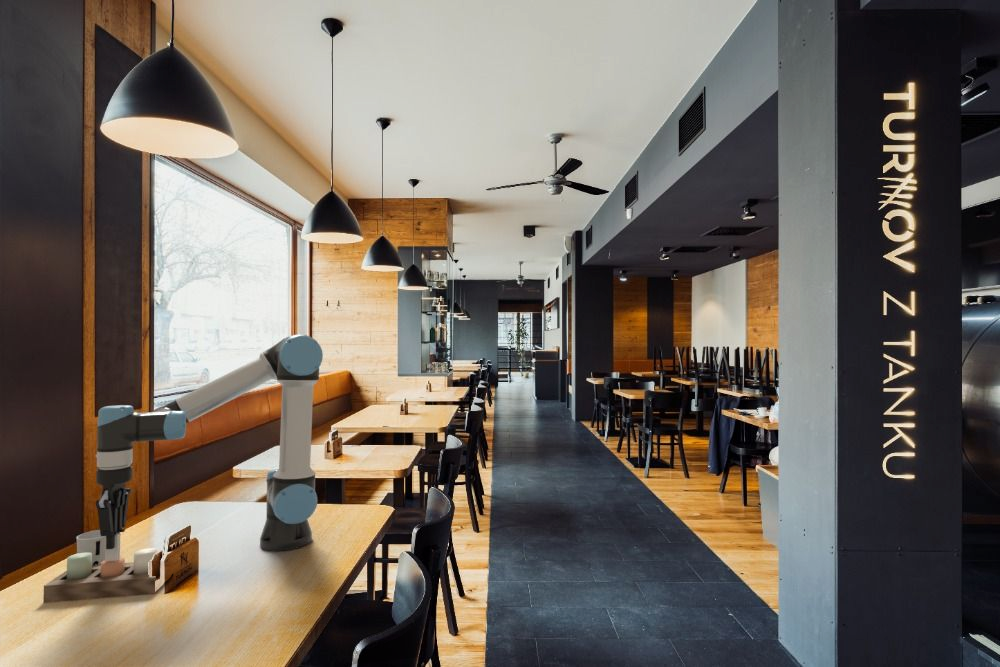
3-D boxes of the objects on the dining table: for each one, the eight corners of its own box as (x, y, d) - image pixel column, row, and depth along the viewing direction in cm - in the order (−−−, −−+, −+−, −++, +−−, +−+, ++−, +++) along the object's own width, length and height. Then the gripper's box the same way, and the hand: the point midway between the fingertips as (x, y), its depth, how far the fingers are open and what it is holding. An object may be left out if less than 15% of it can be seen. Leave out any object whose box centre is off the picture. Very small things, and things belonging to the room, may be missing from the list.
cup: (92, 578, 144) (93, 540, 144) (67, 576, 146) (68, 538, 146) (120, 566, 152) (120, 530, 152) (95, 564, 154) (96, 528, 154)
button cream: (160, 566, 143) (160, 547, 143) (151, 574, 138) (152, 554, 138) (138, 568, 142) (139, 549, 142) (129, 576, 137) (130, 556, 137)
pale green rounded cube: (95, 571, 140) (96, 551, 140) (84, 579, 135) (85, 559, 135) (73, 573, 139) (74, 553, 139) (62, 581, 134) (62, 560, 134)
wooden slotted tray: (173, 574, 146) (173, 559, 147) (154, 594, 135) (154, 577, 135) (72, 582, 142) (72, 566, 142) (43, 602, 130) (43, 585, 130)
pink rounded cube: (128, 576, 141) (128, 556, 141) (118, 584, 136) (118, 564, 137) (106, 577, 140) (106, 558, 141) (96, 585, 135) (96, 565, 136)
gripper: (111, 462, 145) (109, 552, 144) (83, 472, 132) (81, 571, 131) (142, 461, 146) (140, 550, 146) (118, 471, 134) (116, 569, 133)
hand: (112, 560), depth 139 cm, fingers closed
